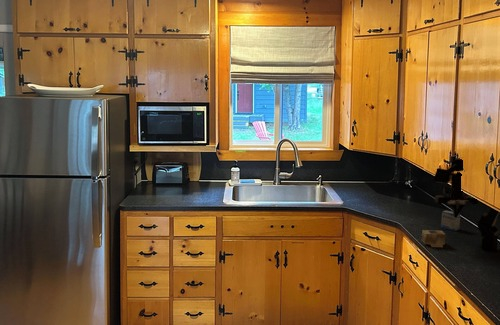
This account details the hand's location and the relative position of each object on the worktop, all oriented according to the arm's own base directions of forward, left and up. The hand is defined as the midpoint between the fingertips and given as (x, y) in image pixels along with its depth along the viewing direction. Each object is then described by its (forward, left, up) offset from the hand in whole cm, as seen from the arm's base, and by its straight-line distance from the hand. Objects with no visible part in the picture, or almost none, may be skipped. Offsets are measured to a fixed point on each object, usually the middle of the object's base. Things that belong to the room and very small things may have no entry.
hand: (455, 217), depth 265 cm
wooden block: (+6, +4, -9) cm, 11 cm away
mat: (+10, +4, -12) cm, 16 cm away
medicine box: (-5, -23, -12) cm, 27 cm away
